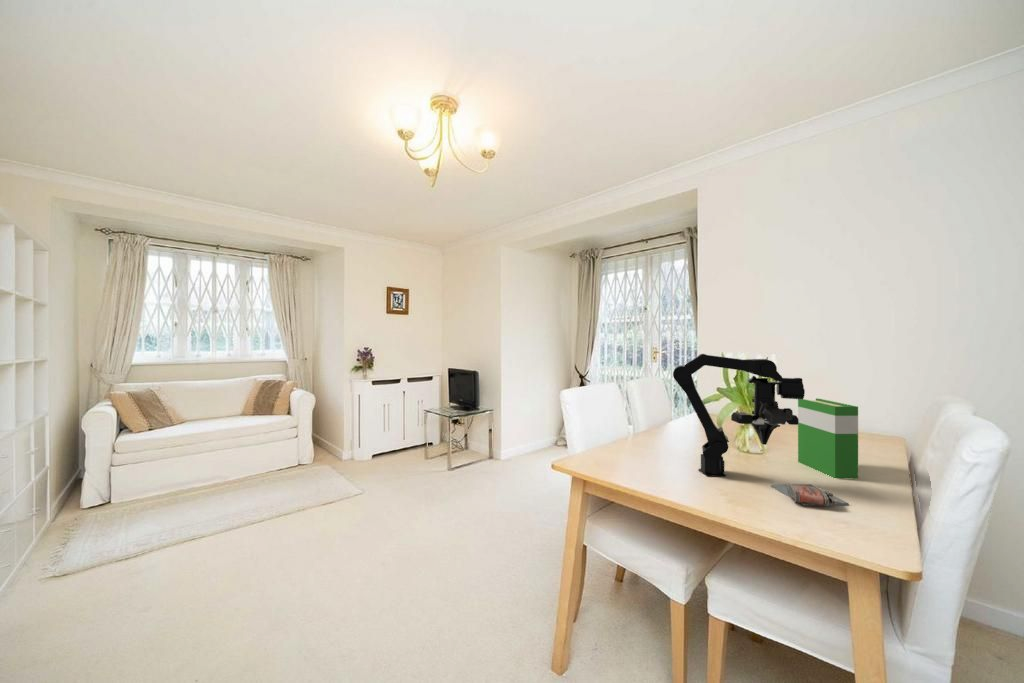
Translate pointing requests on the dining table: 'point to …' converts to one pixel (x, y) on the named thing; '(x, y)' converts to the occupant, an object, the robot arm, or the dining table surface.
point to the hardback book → (828, 437)
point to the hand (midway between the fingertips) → (763, 444)
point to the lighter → (810, 495)
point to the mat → (783, 487)
